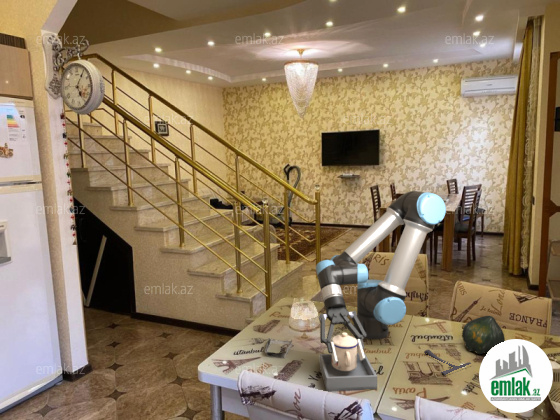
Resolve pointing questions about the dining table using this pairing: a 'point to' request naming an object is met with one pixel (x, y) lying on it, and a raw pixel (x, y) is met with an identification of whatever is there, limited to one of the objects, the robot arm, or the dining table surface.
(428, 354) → the dark grey rake
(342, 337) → the teacup with lid
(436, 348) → the dining table surface
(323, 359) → the tray
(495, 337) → the squash
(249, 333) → the dining table surface
